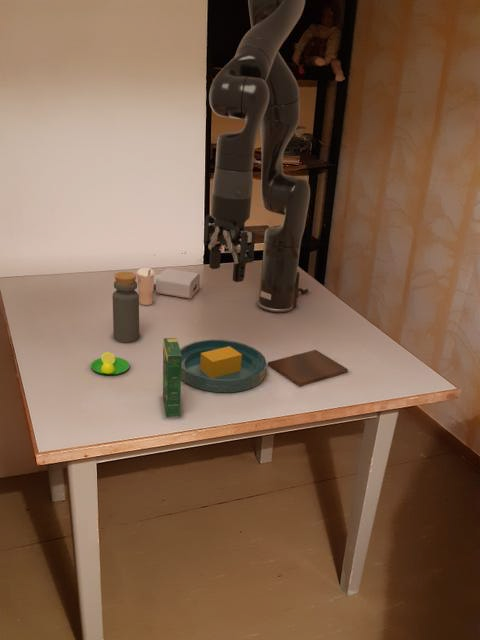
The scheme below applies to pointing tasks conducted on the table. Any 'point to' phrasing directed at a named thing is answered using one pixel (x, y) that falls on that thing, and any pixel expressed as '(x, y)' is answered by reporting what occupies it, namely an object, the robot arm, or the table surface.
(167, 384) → the coffee box
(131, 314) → the bottle
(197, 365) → the teal plate
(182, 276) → the charger
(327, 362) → the board
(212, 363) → the block
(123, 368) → the lemons on green plate
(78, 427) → the table surface
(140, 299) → the milkshake
